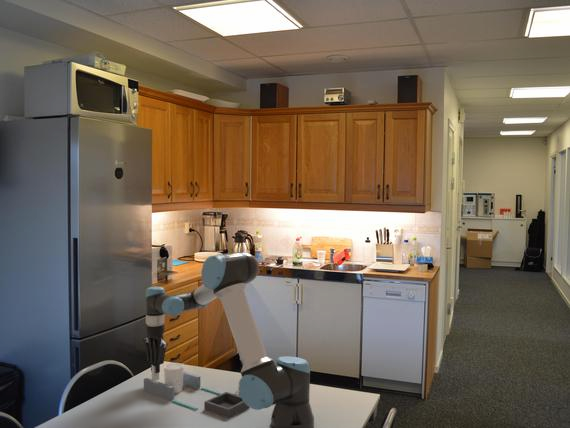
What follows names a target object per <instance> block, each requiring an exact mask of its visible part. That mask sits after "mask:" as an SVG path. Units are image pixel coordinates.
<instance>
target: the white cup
mask: <svg viewBox="0 0 570 428" xmlns="http://www.w3.org/2000/svg"><path fill="white" fill-rule="evenodd" d="M184 368H185V365H184V364H183V363H179V362H170V363H167V364H165V365H164V366H163V372H164V373H163V374H164V384H167V385H170V386H173V387H174V394H177V393H181V392H182V391H183V389H184V387H183V386H184V385H183V374H184V372H185V370H184Z"/></svg>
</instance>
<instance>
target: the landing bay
mask: <svg viewBox="0 0 570 428" xmlns="http://www.w3.org/2000/svg"><path fill="white" fill-rule="evenodd" d="M200 389H201V390H203V391H206V392H209V393H212V394H215V395H217V396H218V395H220V394H222V392H219V391H218V390H217V391H216V390H214V389H211V388H208V387H204V386H201V387H200ZM171 402H172V403H174V404H176V405H179V406H183V407H185V408H188V409H191V410H194V411H197V410H199V408H198V407H196V406H193V405H191V404H187V403H185V402H182V401H179V400H176V399H174V400H171Z"/></svg>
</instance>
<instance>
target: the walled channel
mask: <svg viewBox="0 0 570 428" xmlns="http://www.w3.org/2000/svg"><path fill="white" fill-rule="evenodd" d="M183 386H186V387H190V388H192V389H195V390H199V389H201V376H200V375H197V374H194V373H190V372H187V371H184V374H183ZM143 392H144V393H148V394H151V395H152V396H153V395H154V396H157V397H159V398H162V399H165V400H168V401H171V402H172V400H175V399H174V398H175V396H174V394H175V393H174V387H173V386H170V385H167V384H165V382H164V383H163V382H162V381H161V382H160V381H158V380H156V381H154V380H152V378H149V377H145V378H143Z"/></svg>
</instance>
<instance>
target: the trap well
mask: <svg viewBox="0 0 570 428" xmlns="http://www.w3.org/2000/svg"><path fill="white" fill-rule="evenodd" d="M221 393H222V392H221ZM203 403H204V404H203V405H204V407H203V408H204V410H205V411H207V412H211V413H213V414H216V415H219V416H222V417H224V418H228V419H230V418H231V417H233V416H235V415H237V414H239V413H241V412H243V411H244V410H247V409H249V408H250V407H249V406H247V405H246V404H245V402H244V401H243V400H242V398H241V396H240V395H239V394H235V393H231V392H228V391H225V392H223V393H222V394H220V395H218V394H217V395H215V396H213V397H211V398H210V399H207V400H205V401H204V402H203Z"/></svg>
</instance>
